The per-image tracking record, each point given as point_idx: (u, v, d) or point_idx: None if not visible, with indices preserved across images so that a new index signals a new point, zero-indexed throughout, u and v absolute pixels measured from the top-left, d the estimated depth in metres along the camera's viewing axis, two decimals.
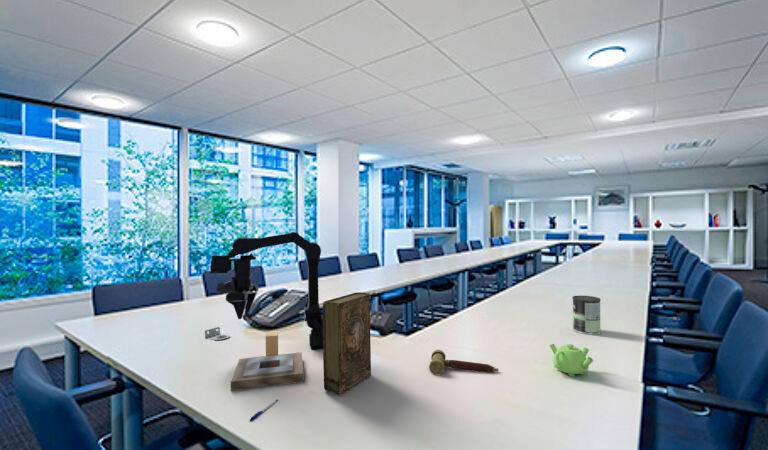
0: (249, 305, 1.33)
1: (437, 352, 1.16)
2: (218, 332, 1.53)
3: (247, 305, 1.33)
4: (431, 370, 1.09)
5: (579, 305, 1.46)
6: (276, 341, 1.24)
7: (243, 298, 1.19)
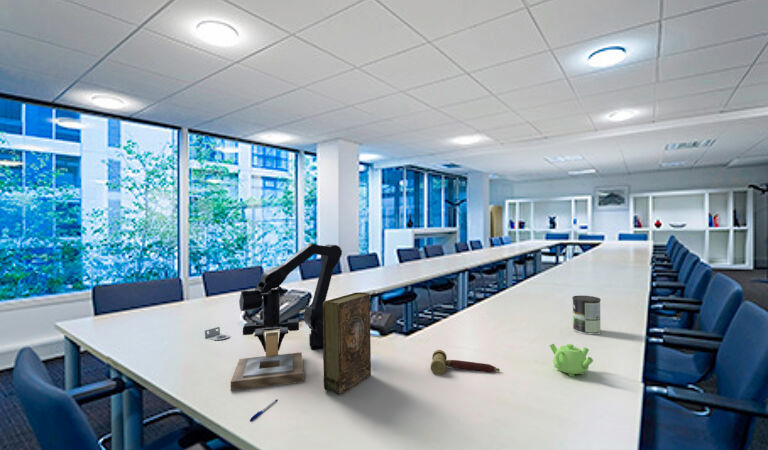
0: (278, 343, 1.25)
1: (438, 352, 1.16)
2: (218, 332, 1.53)
3: (278, 342, 1.26)
4: (432, 370, 1.09)
5: (579, 305, 1.46)
6: (276, 341, 1.24)
7: (243, 333, 1.20)
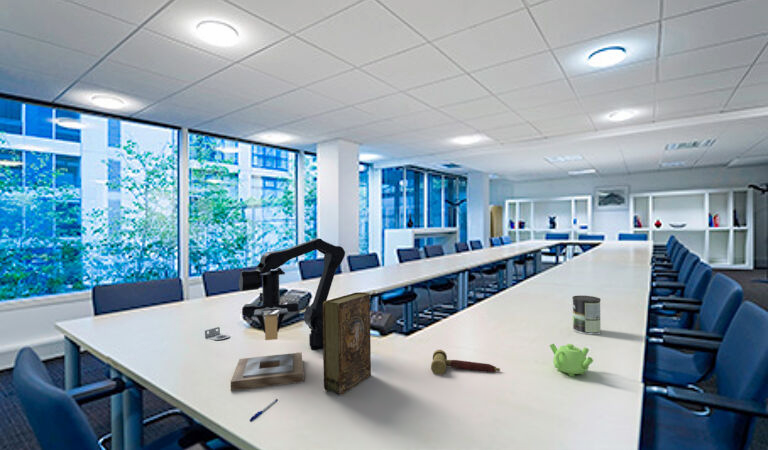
0: None
1: (438, 352, 1.16)
2: (218, 332, 1.53)
3: None
4: (433, 370, 1.09)
5: (579, 305, 1.46)
6: (276, 322, 1.24)
7: (242, 313, 1.20)
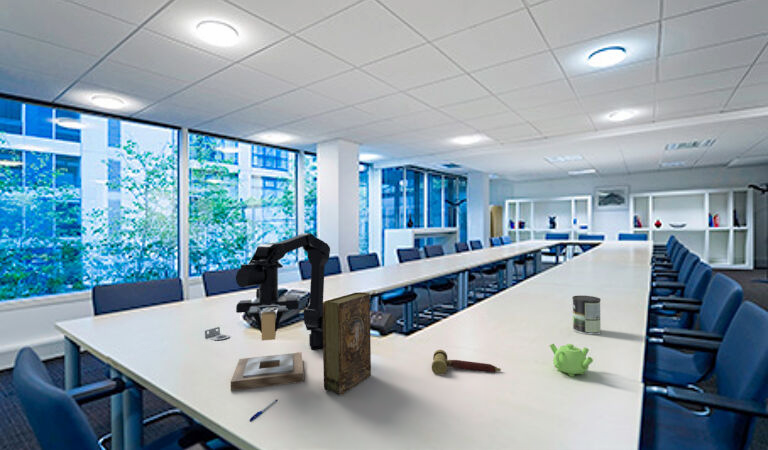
0: None
1: (439, 352, 1.16)
2: (218, 332, 1.53)
3: None
4: (433, 370, 1.08)
5: (579, 305, 1.46)
6: (273, 320, 1.12)
7: (236, 310, 1.09)
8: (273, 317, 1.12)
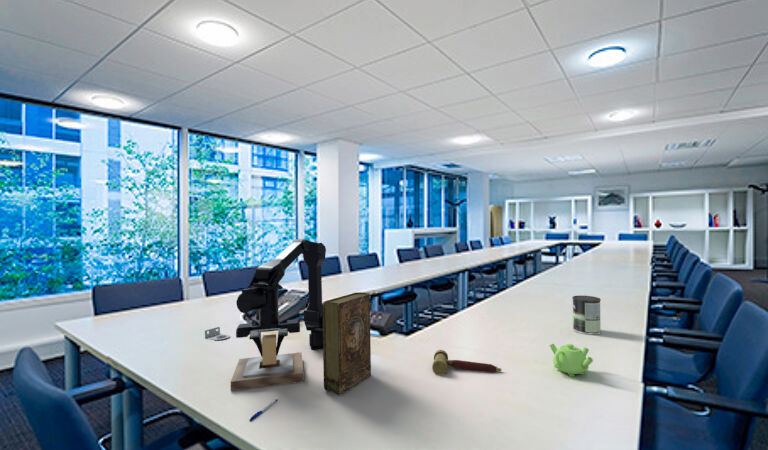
0: (276, 347, 1.11)
1: (440, 352, 1.16)
2: (218, 332, 1.53)
3: None
4: (434, 370, 1.08)
5: (579, 305, 1.46)
6: (274, 344, 1.09)
7: (236, 335, 1.06)
8: (274, 341, 1.09)
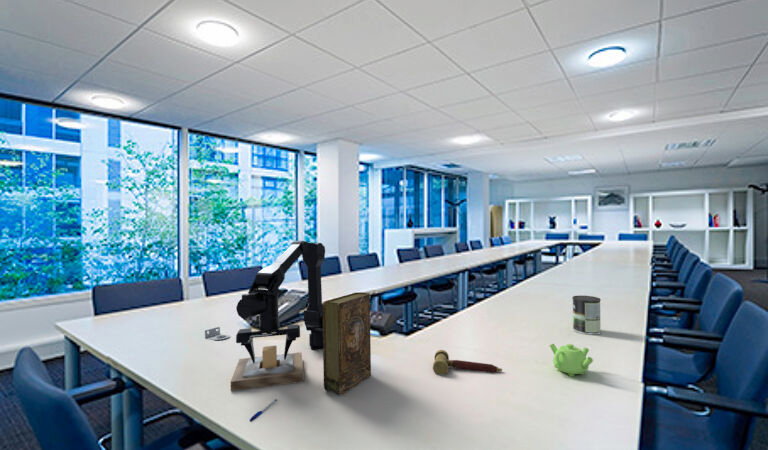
0: None
1: (440, 352, 1.16)
2: (218, 332, 1.53)
3: None
4: (435, 370, 1.08)
5: (579, 305, 1.46)
6: (275, 356, 1.09)
7: (236, 340, 1.06)
8: (274, 353, 1.09)
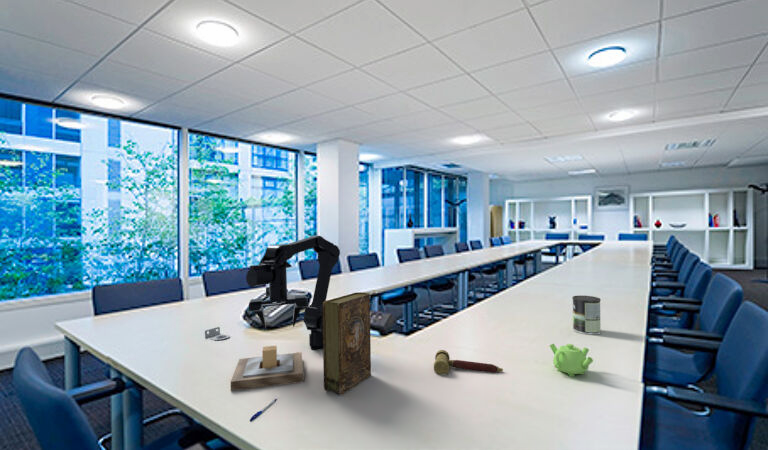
0: (293, 319, 1.21)
1: (441, 352, 1.16)
2: (218, 332, 1.53)
3: (293, 318, 1.21)
4: (436, 370, 1.08)
5: (579, 305, 1.46)
6: (275, 356, 1.09)
7: (249, 308, 1.15)
8: (274, 353, 1.09)
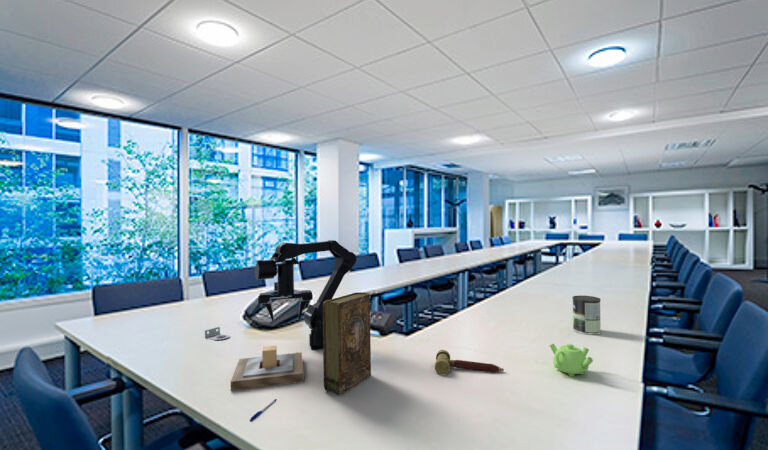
0: (299, 312, 1.29)
1: (442, 352, 1.16)
2: (218, 332, 1.53)
3: (299, 311, 1.30)
4: (436, 370, 1.08)
5: (579, 305, 1.46)
6: (275, 356, 1.09)
7: (258, 301, 1.24)
8: (274, 353, 1.09)
